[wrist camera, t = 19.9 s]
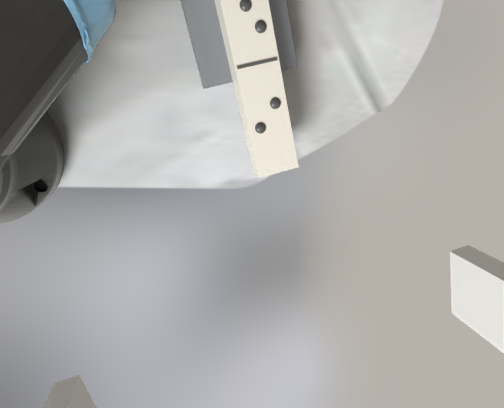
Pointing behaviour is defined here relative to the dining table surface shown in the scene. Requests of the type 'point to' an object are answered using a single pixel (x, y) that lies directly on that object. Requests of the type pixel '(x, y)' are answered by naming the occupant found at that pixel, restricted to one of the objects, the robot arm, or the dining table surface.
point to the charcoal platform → (212, 44)
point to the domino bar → (258, 84)
